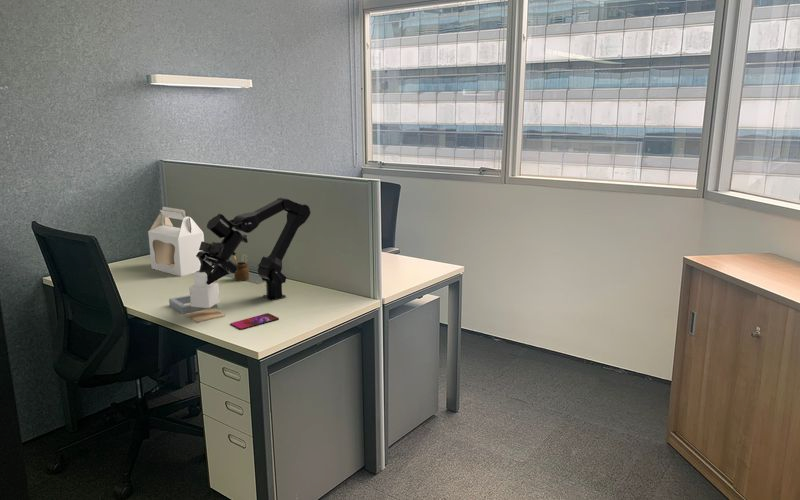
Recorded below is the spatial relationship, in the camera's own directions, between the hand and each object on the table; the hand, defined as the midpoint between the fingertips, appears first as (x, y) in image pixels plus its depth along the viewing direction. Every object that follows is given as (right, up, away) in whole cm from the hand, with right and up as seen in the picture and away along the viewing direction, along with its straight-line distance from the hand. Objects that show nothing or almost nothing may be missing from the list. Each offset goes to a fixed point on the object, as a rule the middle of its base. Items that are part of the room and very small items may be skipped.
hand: (202, 282), depth 206 cm
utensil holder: (+1, -2, +48) cm, 48 cm away
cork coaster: (0, -12, +3) cm, 12 cm away
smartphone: (+19, -14, -3) cm, 24 cm away
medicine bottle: (0, -8, +2) cm, 8 cm away
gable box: (-31, +2, +63) cm, 70 cm away
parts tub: (-8, -9, +13) cm, 18 cm away
